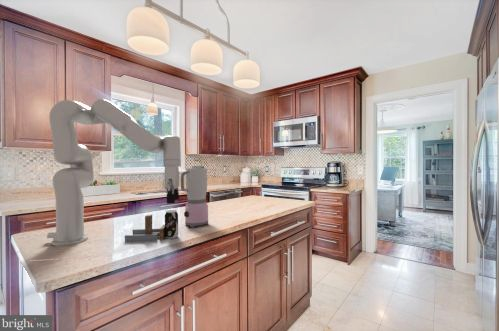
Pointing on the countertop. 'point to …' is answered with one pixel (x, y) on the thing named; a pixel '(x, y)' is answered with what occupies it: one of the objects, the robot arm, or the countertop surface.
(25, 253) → the countertop surface
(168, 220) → the beverage can
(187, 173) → the blender
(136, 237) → the channel
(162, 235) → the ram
